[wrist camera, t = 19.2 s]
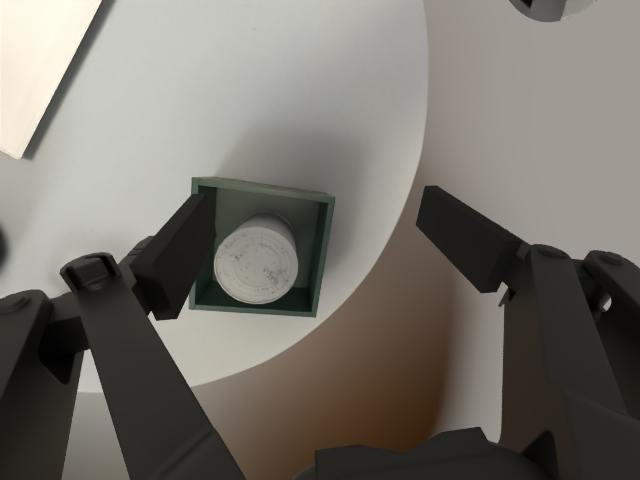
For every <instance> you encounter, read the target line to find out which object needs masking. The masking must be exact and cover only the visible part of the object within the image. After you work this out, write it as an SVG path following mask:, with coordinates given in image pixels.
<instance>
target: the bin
mask: <svg viewBox="0 0 640 480" xmlns="http://www.w3.org/2000/svg"><path fill="white" fill-rule="evenodd" d="M192 194H207V198H208V202H209V206H210V210H211V214H212V218H213V222H214V226H215V230H216V234H217V236H216V238H215V240H214V242H213V244H212V246H211V248H210V250H209V253H208V255H207V257H206V259H205V261H204V263H203V265H202V267H201V269H200V271H199V274H198V276H197V278H196V280H195V282H194V284H193V286H192V288H191V290H190V292H189V309H191V310H207V311H223V312H239V313H255V314H270V315H286V316H302V317H316V314H317V308H318V302H319V295H320V289H321V283H322V277H323V271H324V264H325V258H326V252H327V246H328V240H329V233H330V227H331V221H332V215H333V209H334V203H335V198H334V197H332V196H330V195H328V194H326V193H322V192H315V191H308V190H301V189H294V188H287V187H280V186H273V185H267V184H260V183H253V182H246V181H239V180H232V179H225V178H218V177H192V188H191V195H192ZM261 211H269V212H273V213H276V214H278V215H280V216H282V217H283V218H285V219H286V220H287V221H288V222H289V223H290V225H291V226H292V228H293V230H294V234H295V246H296V256H297V260H298V272H297V276H296V279H295V281H294V283H293V285H292V287H291V288H290V289H289V290H288V292H287V293H285V294H284V295H283V296H281V297H280V298H278V299H276V300H274V301H272V302H268V303H264V304H250V303H245V302H242V301H239V300H237V299H235V298H233V297H232V296H230V295H229V294H228V293H227V292H226V291H225V290H224V289H223V288H222V287H221V285H220V284H219V282H218V280H217V277H216V275H215V270H214V260H215V255H216V252H217V250H218V248H219V246H220V245H221V243H222V242H223V241H224V239H226V238H227V237H228V236H229V235H230V234H231V233H232V232H233V231H234V230H235V229H236V228H237V227H238V226H239V225H240V224H241V223H242V221H243V220H244V219H245V218H247V217H248V216H249V215H252V214H254V213H257V212H261Z"/></svg>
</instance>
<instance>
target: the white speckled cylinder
mask: <svg viewBox="0 0 640 480" xmlns="http://www.w3.org/2000/svg"><path fill="white" fill-rule="evenodd" d="M214 270H215V275H216V277H217V280H218V282H219V284H220V285H221V287H222V288H223V289H224V290H225V291H226V292H227V293H228V294H229V295H230V296H232V297H233V298H235V299H237V300H239V301H242V302H245V303H250V304H264V303H268V302H272V301H274V300H276V299H278V298H280V297H281V296H283V295H284V294H285V293H287V292H288V290H289V289H290V288H291V287H292V285H293V283H294V281H295V279H296V276H297V272H298V260H297V256H296V246H295V234H294V230H293V228H292V226H291V225H290V223H289V222H288V221H287V220H286V219H285V218H283V217H282V216H280V215H278V214H276V213H273V212H269V211H261V212H257V213H254V214H252V215H249V216H248V217H247V218H245V219H244V220H243V221H242V223H241V224H240V225H239V226H238V227H237V228H236V229H235V230H234V231H233V232H232V233H231V234H230V235H229V236H228V237H227V238H226V239H224V241H223V242H222V243H221V245H220V246H219V248H218V250H217V252H216V255H215V260H214Z"/></svg>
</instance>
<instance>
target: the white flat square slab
mask: <svg viewBox="0 0 640 480" xmlns="http://www.w3.org/2000/svg"><path fill="white" fill-rule="evenodd" d="M101 1H102V0H0V150H1V151H3V152H5V153H7V154H8V155H10V156H12V157H14V158H15V159H20V158H21V157H22V155H23V153H24V151H25V149H26V147H27V145H28V143H29V141H30V139H31V137H32V135H33V133H34V131H35V129H36V127H37V126H38V124H39V122H40V120H41V118H42V116H43V114H44V112H45V110H46V108H47V106H48V104H49V102H50V100H51V98H52V96H53V94H54V93H55V91H56V89H57V87H58V85H59V83H60V81H61V79H62V77H63V75H64V73H65V71H66V69H67V67H68V65H69V63H70V62H71V60H72V58H73V56H74V54H75V52H76V50H77V48H78V46H79V44H80V42H81V40H82V38H83V36H84V34H85V32H86V30H87V29H88V27H89V25H90V23H91V21H92V19H93V17H94V15H95V13H96V11H97V9H98V7H99V5H100V3H101Z"/></svg>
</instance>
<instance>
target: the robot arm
mask: <svg viewBox="0 0 640 480" xmlns="http://www.w3.org/2000/svg"><path fill="white" fill-rule="evenodd" d="M416 226H417V227H418V228H419V229H420V230H421V231H422V232H423V233H424V234H425V235H426V236H427V237H428V238H429V239H430V240H431V242H432V243H434V245H435V246H436V247H437V248H438V249H439V250H440V251H441V252H442V253H443V254H444V255H445V256H446V257H447V258H448V259H449V260H450V261H451V262H452V263H453V265H454V266H455V267H456V268H457V269H458V270H459V271H460V272H461V273H462V274H463V275H464V276H465V277H466V278H467V279H468V280H469V281H470V282H471V283H472V284H473V285H474V286H475V287H476V289H477V290H478V291H479V292H480V293H491V292H497V290H498V288H499V286H500V284H501V282H502V281H503V282H504V283H505V284H506V285H507V286H508V289H507V291H506V293H505V294H504V296H503V298H502V300H501V302H500V303H499V305H498V306H499V307H501V306H502V305H503V304H505V305H504V345H503V346H504V347H503V386H502V387H503V388H502V427H501V436H500V440H499V442H498V443H494V442H491V441H488V440H487V438H486V436H485V435H484V433H483V431H482V429H481V428H480V427H474V428H467V429H460V430H454V431H447V432H441V433H440V434H438V435H436V436H434V437H432V438H431V439H429V440H427V441H425V442H424V443H422V444H420V445H418V446H417V447H415V448H413V449H411V450H410V451H407V452H397V451H392V450H386V449H380V448H374V447H369V446H364V445H358V444H357V445H350V446H343V447H336V448H329V449H323V450H315V463H314V464H312V465H310V466H308V467H306V468H304V469H303V470H302V471H300V472H299V473H298V474H296V475H295V476H294V477H293V478H292V479H291V480H640V268H638V267H637V266H636V265H635V264H634V263H632V262H630V261H629V260H628V259H626V258H623V257H621V256H620V255H618V254H614V253H612V252H605V251H597V250H593V251H590V252H589V253H588V255H587V256H586V257H585V259H584V260H577V259H571V258H570V256H569V255H568V254H566V253H565V252H563V251H561V250H559V249H557V248H554V247H552V246H547V245H542V244H534V245H530V244H528V243H526V242H525V241H523V240H522V239H520V238H519V237H517V236H515V235H514V234H512V233H510V232H509V231H508V230H506V229H504V228H503V227H501V226H500V225H498V224H496V223H495V222H493V221H491V220H490V219H488V218H487V217H485V216H483V215H482V214H480V213H479V212H477V211H476V210H474V209H472V208H471V207H469V206H467V205H466V204H465V203H463V202H461V201H460V200H458V199H457V198H455V197H454V196H452V195H451V194H449V193H447V192H446V191H444V190H443V189H441V188H439V187H438V186H425V189H424V192H423V197H422V201H421V205H420V209H419V213H418V218H417V222H416ZM216 236H217V234H216V230H215V226H214V222H213V218H212V214H211V210H210V206H209V202H208V198H207V194H192V195H191V196H190V197H189V198H188V199H187V200H186V202H185V203H184V204H183V205H182V206H181V207H180V208H179V209H178V210H177V212H176V213H175V214H174V215H173V216H172V217H171V218H170V219H169V221H168V222H167V223H166V224H165V225H164V226H163V227H162V228H161V229H160V231H159V232H158V233H157V234H156V235H155V236H149V237H147V238H145V239H144V240H142V241H140V242H139V243H138V244H137V245H136V246H135V247H134V248H133V250H131V251H130V252H129V253H128V254H127V256H125V257H124V258H123V259H122V261H121V262H120V263H119V264H118V265H117V263H116V262H115V260H114V258H113V256H112V255H111V254H109V253H104V252H100V253H92V254H89V255H85V256H82V257H79V258H77V259H74V260H72V261H71V262H69V263H67V264H66V265H65V266H64V267H63V268H61V270H60V273H59V274H60V275H61V276H62V278H63V279H64V281H65V282H66V283H67V285H68V286H69V288H70V289H71V291H72V292H73V294H69V295H65V296H61V297H57V298H53V299H49V298H48V297H47V295H46V294H45V293H44V292H43V291H41V290H27V291H22V292H19V293H16V294H11V295H8V296H6V297H5V298H2V299H0V480H61V478H62V472H63V467H64V461H65V456H66V450H67V444H68V439H69V433H70V428H71V422H72V416H73V411H74V405H75V400H76V394H77V389H78V383H79V378H80V372H81V366H82V361H83V355H84V350H88V349H91V352H92V356H93V359H94V362H95V366H96V369H97V372H98V375H99V379H100V382H101V385H102V389H103V392H104V395H105V398H106V402H107V405H108V408H109V411H110V415H111V418H112V421H113V425H114V428H115V431H116V434H117V438H118V441H119V444H120V448H121V451H122V454H123V458H124V461H125V464H126V467H127V471H128V474H129V477H130V480H246V478H245V476H244V475H243V473H242V471H241V470H240V468H239V466H238V465H237V463H236V461H235V460H234V458H233V456H232V455H231V453H230V451H229V450H228V448H227V446H226V445H225V443H224V441H223V440H222V438H221V437H220V435H219V433H218V432H217V430H216V429H215V428H214V427H213V426H212V424H211V422H210V421H209V419H208V417H207V416H206V414H205V412H204V411H203V409H202V407H201V406H200V404H199V402H198V400H197V399H196V397H195V395H194V394H193V392H192V390H191V389H190V387H189V385H188V384H187V382H186V380H185V379H184V377H183V375H182V374H181V372H180V370H179V369H178V367H177V365H176V364H175V362H174V360H173V359H172V357H171V355H170V354H169V352H168V350H167V348H166V347H165V345H164V343H163V342H162V340H161V338H160V337H159V335H158V333H157V332H156V330H155V328H154V327H153V325H152V323H151V322H150V320H149V318H148V317H147V316H148V315H149V313H150V311H152V313H153V315H154V317H155V319H156V321H158V320H170V319H177V318H178V316H179V313H180V311H181V309H182V307H183V305H184V303H185V301H186V299H187V297H188V295H189V292H190V290H191V288H192V286H193V284H194V282H195V280H196V278H197V276H198V274H199V271H200V269H201V267H202V265H203V263H204V261H205V259H206V257H207V255H208V253H209V250H210V248H211V246H212V244H213V242H214V240H215V238H216ZM610 298H611V301H612V302H611V306H610V308H609V309H608V310H607V311H606V310H605V309H604V308H603V306H604V305H605V304H606V302H607V301H608V300H609V299H610Z"/></svg>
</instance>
